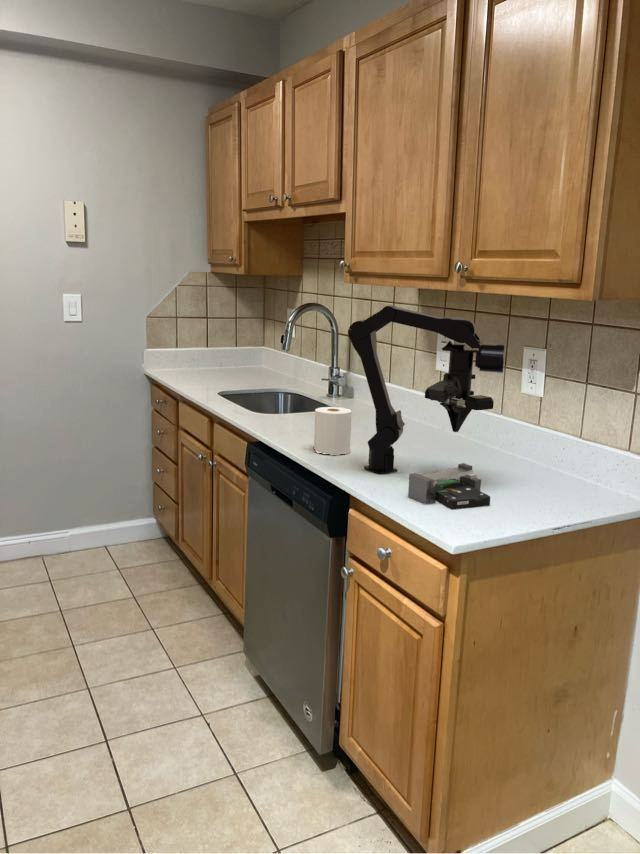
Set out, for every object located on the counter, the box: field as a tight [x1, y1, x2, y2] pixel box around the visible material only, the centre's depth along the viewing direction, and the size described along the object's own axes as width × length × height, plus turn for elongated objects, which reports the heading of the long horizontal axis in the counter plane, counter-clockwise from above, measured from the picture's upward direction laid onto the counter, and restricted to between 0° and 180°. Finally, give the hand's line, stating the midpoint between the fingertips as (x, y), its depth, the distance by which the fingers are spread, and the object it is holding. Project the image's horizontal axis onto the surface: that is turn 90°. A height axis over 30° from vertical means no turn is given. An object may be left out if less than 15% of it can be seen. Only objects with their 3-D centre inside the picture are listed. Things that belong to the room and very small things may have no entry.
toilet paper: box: [313, 406, 353, 456], centre depth 201 cm, size 10×10×12 cm
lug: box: [459, 472, 482, 491], centre depth 170 cm, size 5×2×4 cm, turn 34°
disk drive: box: [436, 478, 491, 511], centre depth 164 cm, size 10×3×15 cm
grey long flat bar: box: [422, 462, 474, 482], centre depth 165 cm, size 4×13×2 cm, turn 124°
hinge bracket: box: [407, 472, 438, 505], centre depth 161 cm, size 7×3×6 cm, turn 34°
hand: (455, 431), depth 177 cm, fingers closed
